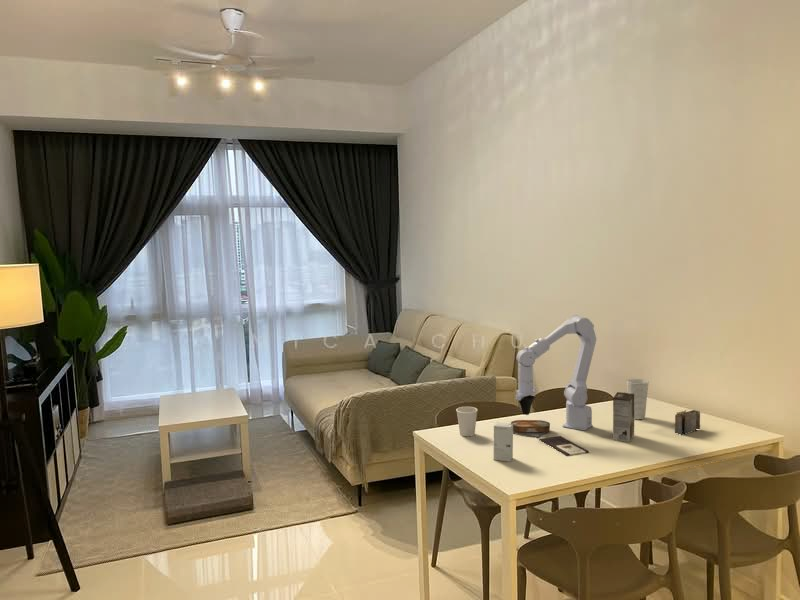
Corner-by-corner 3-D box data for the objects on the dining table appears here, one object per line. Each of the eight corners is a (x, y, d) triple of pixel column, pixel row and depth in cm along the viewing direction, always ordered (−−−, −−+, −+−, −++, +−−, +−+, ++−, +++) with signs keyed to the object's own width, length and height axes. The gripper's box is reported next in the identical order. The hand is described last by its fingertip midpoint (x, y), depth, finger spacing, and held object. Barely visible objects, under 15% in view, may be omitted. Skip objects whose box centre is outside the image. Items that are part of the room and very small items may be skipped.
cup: (623, 419, 247) (624, 382, 246) (629, 413, 254) (629, 377, 253) (645, 422, 242) (645, 384, 241) (650, 416, 249) (650, 380, 248)
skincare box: (493, 460, 205) (492, 425, 204) (496, 455, 209) (495, 421, 208) (511, 462, 202) (510, 427, 201) (513, 457, 207) (513, 423, 206)
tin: (548, 420, 238) (551, 425, 230) (548, 428, 238) (551, 433, 230) (509, 419, 239) (511, 424, 231) (509, 427, 239) (512, 432, 231)
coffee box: (616, 433, 230) (617, 391, 228) (634, 435, 226) (635, 393, 225) (612, 440, 222) (612, 397, 220) (630, 442, 219) (631, 399, 217)
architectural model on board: (682, 436, 225) (682, 411, 224) (675, 434, 227) (675, 409, 226) (700, 431, 230) (701, 406, 229) (693, 429, 233) (694, 404, 232)
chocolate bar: (560, 435, 227) (588, 451, 209) (560, 438, 227) (588, 453, 210) (539, 438, 224) (566, 454, 207) (539, 441, 224) (566, 457, 207)
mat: (546, 432, 233) (546, 430, 233) (537, 438, 226) (537, 436, 226) (506, 425, 243) (506, 423, 243) (497, 430, 237) (497, 429, 237)
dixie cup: (462, 439, 228) (462, 413, 227) (452, 432, 235) (452, 408, 234) (482, 436, 231) (481, 410, 230) (471, 430, 238) (471, 405, 237)
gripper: (524, 375, 244) (524, 408, 245) (508, 383, 233) (508, 417, 234) (540, 377, 240) (540, 411, 241) (524, 385, 228) (525, 419, 230)
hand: (526, 414), depth 237 cm, fingers closed
